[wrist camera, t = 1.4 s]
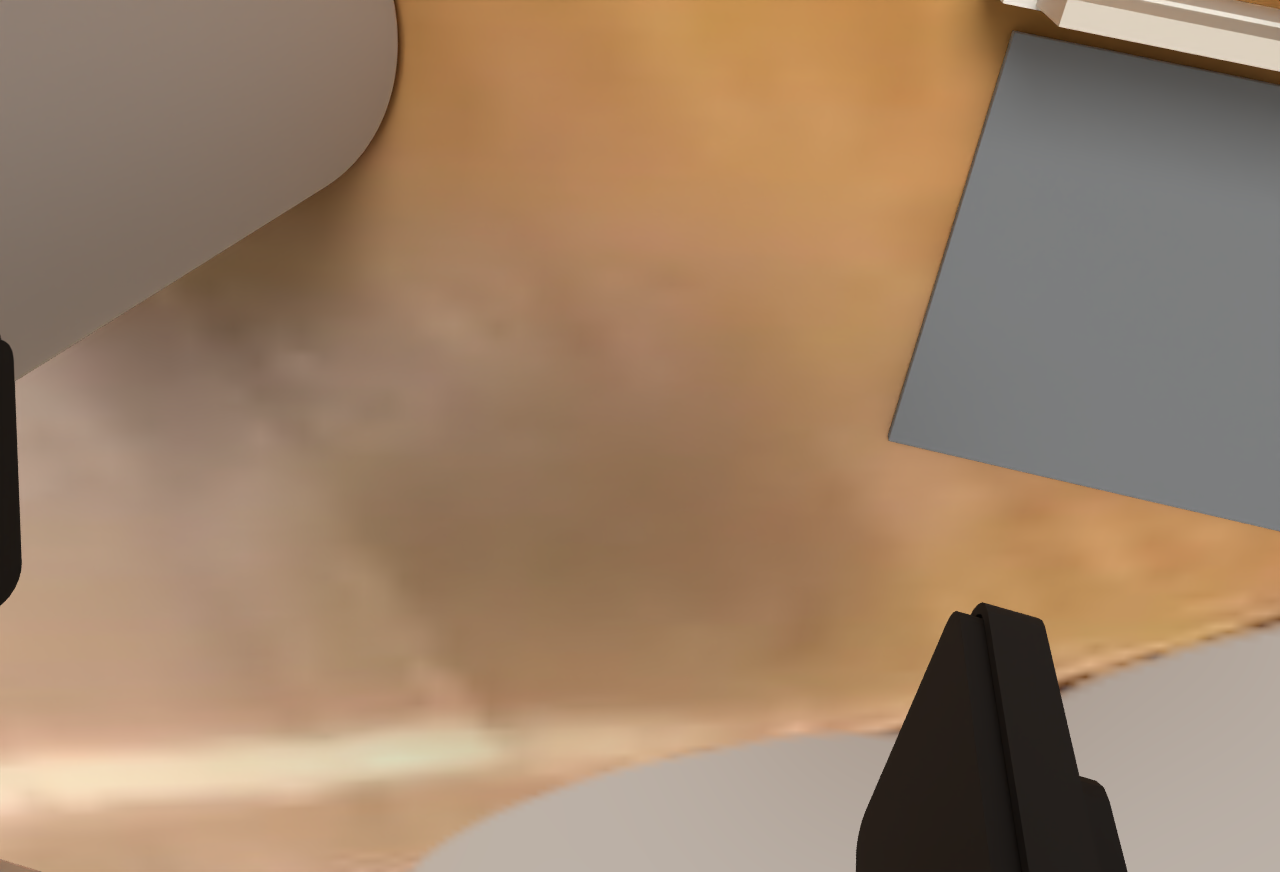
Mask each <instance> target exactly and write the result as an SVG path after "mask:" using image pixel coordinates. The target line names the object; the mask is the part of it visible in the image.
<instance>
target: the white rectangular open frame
mask: <svg viewBox="0 0 1280 872" xmlns="http://www.w3.org/2000/svg"><path fill="white" fill-rule="evenodd" d="M1000 1H1001V2H1002V3H1004V4H1009V5H1014V6H1019V7H1024V8H1029V9H1034V10H1039V11H1042V12H1043V13H1044V14H1046V15H1047V16H1048V17H1049V18H1050V19H1051V20H1052V21H1053V22H1054V23H1055V24H1056V25H1057V26H1059V27H1063V28H1068V29H1073V30H1078V31H1083V32H1087V33H1092V34H1097V35H1102V36H1107V37H1112V38H1117V39H1122V40H1127V41H1132V42H1137V43H1142V44H1146V45H1151V46H1156V47H1161V48H1166V49H1171V50H1176V51H1181V52H1186V53H1191V54H1196V55H1201V56H1205V57H1210V58H1215V59H1220V60H1225V61H1230V62H1235V63H1240V64H1245V65H1250V66H1255V67H1260V68H1264V69H1269V70H1274V71H1279V72H1280V9H1277V8H1272V7H1267V6H1262V5H1257V4H1252V3H1247V2H1242V1H1237V0H1000Z"/></svg>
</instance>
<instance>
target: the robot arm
mask: <svg viewBox="0 0 1280 872" xmlns="http://www.w3.org/2000/svg"><path fill="white" fill-rule="evenodd" d="M21 565H22V559H21V533H20V507H19V481H18V455H17V429H16V403H15V377H14V357H13V351H12V349H11V347H10V345H9V344H8V343H7V342H5V341H4V340H1V335H0V605H2V604H3V603H4V602H5V601H6V600H7V599H8V597H9V596H10V595H11V593H12V592H13V590H14V589H15V587H16V584H17V582H18V580H19V577H20V573H21ZM0 872H40V871H37V870H34V869H31V868H27V867H24V866H21V865H18V864H14V863H11V862H8V861H5V860H1V859H0ZM856 872H1127V868H1126V864H1125V860H1124V856H1123V853H1122V849H1121V845H1120V841H1119V837H1118V833H1117V829H1116V825H1115V821H1114V817H1113V813H1112V809H1111V806H1110V802H1109V799H1108V797H1107V794H1106V792H1105V789H1104V787H1103V786H1101V785H1100V784H1099V783H1098V782H1097V781H1095V780H1091V779H1088V778H1084V777H1081V776H1079V772H1078V768H1077V764H1076V760H1075V755H1074V751H1073V747H1072V742H1071V738H1070V734H1069V729H1068V725H1067V720H1066V716H1065V712H1064V707H1063V703H1062V699H1061V694H1060V690H1059V686H1058V681H1057V677H1056V672H1055V668H1054V664H1053V659H1052V655H1051V651H1050V646H1049V642H1048V638H1047V633H1046V629H1045V626H1044V623H1043V621H1042V620H1040V619H1039V618H1036V617H1032V616H1029V615H1025V614H1022V613H1018V612H1014V611H1011V610H1007V609H1004V608H1000V607H997V606H993V605H990V604H986V603H983V602H982V603H980V604H978V605H977V606H976V607H975V609H974V610H973V611H972V613H971V615H969V614H965V613H962V612H958V611H955V612H953V614H952V615H951V616H950V618H949V620H948V622H947V624H946V626H945V628H944V630H943V633H942V635H941V637H940V640H939V642H938V644H937V647H936V649H935V651H934V654H933V656H932V658H931V661H930V663H929V665H928V668H927V670H926V672H925V674H924V677H923V679H922V681H921V684H920V686H919V688H918V691H917V693H916V695H915V698H914V700H913V702H912V705H911V707H910V709H909V712H908V714H907V716H906V719H905V721H904V723H903V725H902V728H901V730H900V732H899V735H898V737H897V739H896V742H895V744H894V747H893V749H892V751H891V753H890V756H889V758H888V760H887V763H886V765H885V767H884V769H883V772H882V774H881V776H880V779H879V781H878V783H877V786H876V788H875V790H874V793H873V795H872V797H871V800H870V802H869V804H868V807H867V809H866V811H865V814H864V817H863V820H862V823H861V827H860V831H859V836H858V841H857V850H856Z"/></svg>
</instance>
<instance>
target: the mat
mask: <svg viewBox="0 0 1280 872" xmlns="http://www.w3.org/2000/svg"><path fill="white" fill-rule="evenodd" d="M888 438H889V441H892V442H896V443H901V444H905V445H909V446H914V447H918V448H922V449H927V450H931V451H935V452H940V453H944V454H948V455H953V456H957V457H961V458H966V459H970V460H974V461H978V462H983V463H987V464H991V465H996V466H1000V467H1004V468H1009V469H1013V470H1017V471H1022V472H1026V473H1030V474H1035V475H1039V476H1043V477H1048V478H1052V479H1056V480H1061V481H1065V482H1069V483H1074V484H1078V485H1082V486H1086V487H1091V488H1095V489H1099V490H1104V491H1108V492H1112V493H1117V494H1121V495H1125V496H1130V497H1134V498H1138V499H1143V500H1147V501H1151V502H1156V503H1160V504H1164V505H1169V506H1173V507H1177V508H1181V509H1186V510H1190V511H1194V512H1199V513H1203V514H1207V515H1212V516H1216V517H1220V518H1225V519H1229V520H1233V521H1238V522H1242V523H1246V524H1251V525H1255V526H1259V527H1264V528H1268V529H1272V530H1276V531H1280V85H1278V84H1273V83H1269V82H1264V81H1259V80H1254V79H1249V78H1244V77H1239V76H1234V75H1229V74H1224V73H1220V72H1215V71H1210V70H1205V69H1200V68H1195V67H1190V66H1185V65H1180V64H1175V63H1171V62H1166V61H1161V60H1156V59H1151V58H1146V57H1141V56H1136V55H1131V54H1127V53H1122V52H1117V51H1112V50H1107V49H1102V48H1097V47H1092V46H1087V45H1082V44H1078V43H1073V42H1068V41H1063V40H1058V39H1053V38H1048V37H1043V36H1038V35H1033V34H1029V33H1024V32H1019V31H1014V30H1013V31H1012V34H1011V38H1010V41H1009V44H1008V47H1007V51H1006V54H1005V57H1004V60H1003V64H1002V67H1001V70H1000V73H999V77H998V80H997V83H996V86H995V90H994V93H993V96H992V99H991V103H990V106H989V109H988V112H987V116H986V119H985V122H984V125H983V129H982V132H981V135H980V138H979V142H978V145H977V148H976V151H975V155H974V158H973V161H972V164H971V168H970V171H969V174H968V177H967V181H966V184H965V187H964V190H963V194H962V197H961V200H960V203H959V207H958V210H957V213H956V216H955V220H954V223H953V226H952V229H951V233H950V236H949V239H948V242H947V246H946V249H945V252H944V255H943V259H942V262H941V265H940V268H939V272H938V275H937V278H936V281H935V285H934V288H933V291H932V294H931V298H930V301H929V304H928V307H927V311H926V314H925V317H924V320H923V324H922V327H921V330H920V333H919V337H918V340H917V343H916V346H915V350H914V353H913V356H912V359H911V363H910V366H909V369H908V372H907V376H906V379H905V382H904V385H903V389H902V392H901V395H900V398H899V402H898V405H897V408H896V411H895V415H894V418H893V421H892V424H891V428H890V431H889V434H888Z"/></svg>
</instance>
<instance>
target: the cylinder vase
mask: <svg viewBox="0 0 1280 872" xmlns="http://www.w3.org/2000/svg"><path fill="white" fill-rule="evenodd" d="M397 54H398V31H397V19H396V11H395V5H394V0H0V335H1V340H4V341H5V342H7V343H8V344H9V345H10V347H11V349H12V351H13V357H14V377H15V381H16V380H18V379H20V378H21V377H23V376H24V375H26V374H28V373H29V372H31V371H32V370H34V369H36V368H37V367H39V366H40V365H42V364H44V363H45V362H47V361H48V360H50V359H52V358H53V357H55V356H56V355H58V354H59V353H61V352H63V351H64V350H66V349H67V348H69V347H71V346H72V345H74V344H75V343H77V342H79V341H80V340H82V339H83V338H85V337H87V336H88V335H90V334H91V333H93V332H95V331H96V330H98V329H99V328H101V327H103V326H104V325H106V324H107V323H109V322H111V321H112V320H114V319H115V318H117V317H119V316H120V315H122V314H123V313H125V312H127V311H128V310H130V309H131V308H133V307H135V306H136V305H138V304H139V303H141V302H143V301H144V300H146V299H147V298H149V297H151V296H152V295H154V294H155V293H157V292H159V291H160V290H162V289H163V288H165V287H166V286H168V285H170V284H171V283H173V282H174V281H176V280H178V279H179V278H181V277H182V276H184V275H186V274H187V273H189V272H190V271H192V270H194V269H195V268H197V267H198V266H200V265H202V264H203V263H205V262H206V261H208V260H210V259H211V258H213V257H214V256H216V255H218V254H219V253H221V252H222V251H224V250H226V249H227V248H229V247H230V246H232V245H234V244H235V243H237V242H238V241H240V240H242V239H243V238H245V237H246V236H248V235H250V234H251V233H253V232H254V231H256V230H258V229H259V228H261V227H262V226H264V225H266V224H267V223H269V222H270V221H272V220H273V219H275V218H277V217H278V216H280V215H281V214H283V213H285V212H286V211H288V210H289V209H291V208H293V207H294V206H296V205H297V204H299V203H301V202H302V201H304V200H305V199H307V198H309V197H310V196H312V195H313V194H315V193H317V192H318V191H320V190H321V189H323V188H325V187H326V186H328V185H329V184H331V183H332V182H333V181H335V180H336V179H337V178H339V177H340V176H341V175H342V174H343V173H345V172H346V171H347V170H348V169H349V168H350V167H351V166H352V165H353V164H354V163H355V162H356V160H357V159H358V158H359V157H360V156H361V154H362V153H363V152H364V151H365V149H366V148H367V146H368V145H369V143H370V142H371V140H372V139H373V137H374V135H375V133H376V132H377V130H378V128H379V126H380V124H381V122H382V119H383V117H384V115H385V112H386V109H387V106H388V103H389V100H390V97H391V93H392V89H393V85H394V80H395V74H396V67H397Z"/></svg>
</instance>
